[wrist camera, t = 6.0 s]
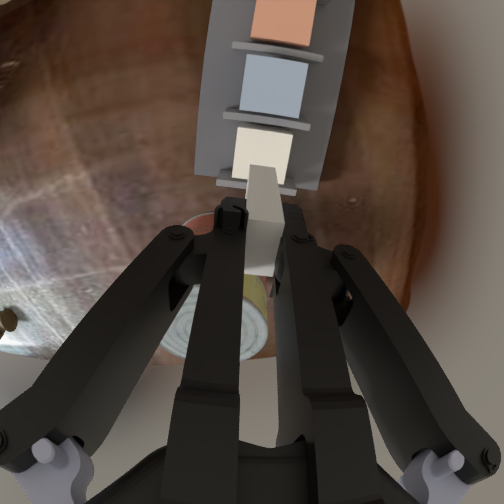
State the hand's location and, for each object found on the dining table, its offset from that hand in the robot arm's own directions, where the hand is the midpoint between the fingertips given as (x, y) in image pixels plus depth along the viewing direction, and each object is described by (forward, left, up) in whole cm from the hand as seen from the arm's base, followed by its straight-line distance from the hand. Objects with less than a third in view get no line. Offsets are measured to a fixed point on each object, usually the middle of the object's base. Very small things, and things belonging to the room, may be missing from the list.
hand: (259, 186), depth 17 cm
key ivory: (0, 0, -9) cm, 9 cm away
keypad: (0, +9, -12) cm, 15 cm away
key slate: (0, +6, -8) cm, 10 cm away
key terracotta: (0, +12, -9) cm, 15 cm away
